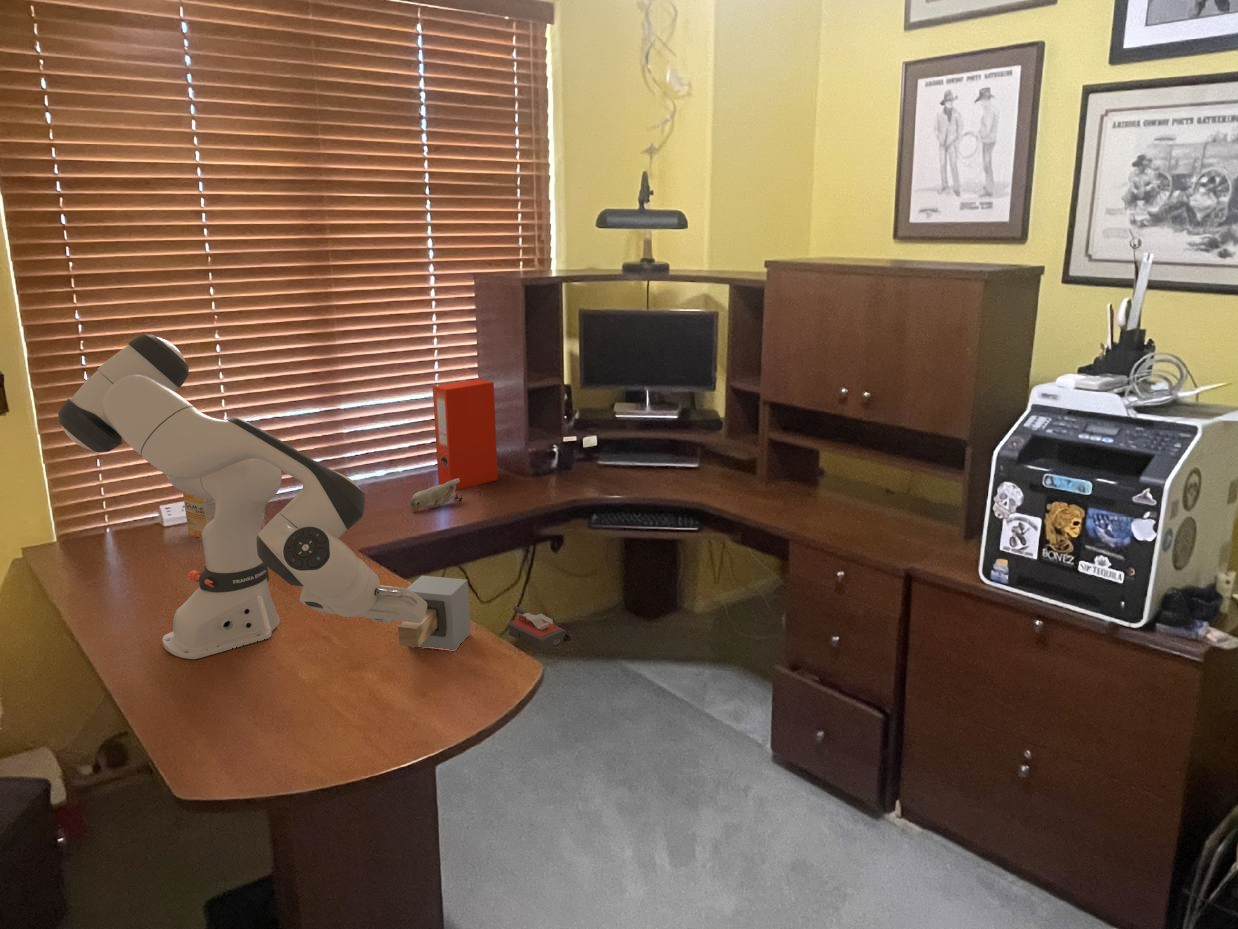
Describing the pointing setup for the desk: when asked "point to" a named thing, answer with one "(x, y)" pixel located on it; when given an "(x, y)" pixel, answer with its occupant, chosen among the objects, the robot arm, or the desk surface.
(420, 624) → the peg
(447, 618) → the housing
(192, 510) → the supplement box
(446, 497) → the decorative bird
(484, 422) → the file binder
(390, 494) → the desk surface
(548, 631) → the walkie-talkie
